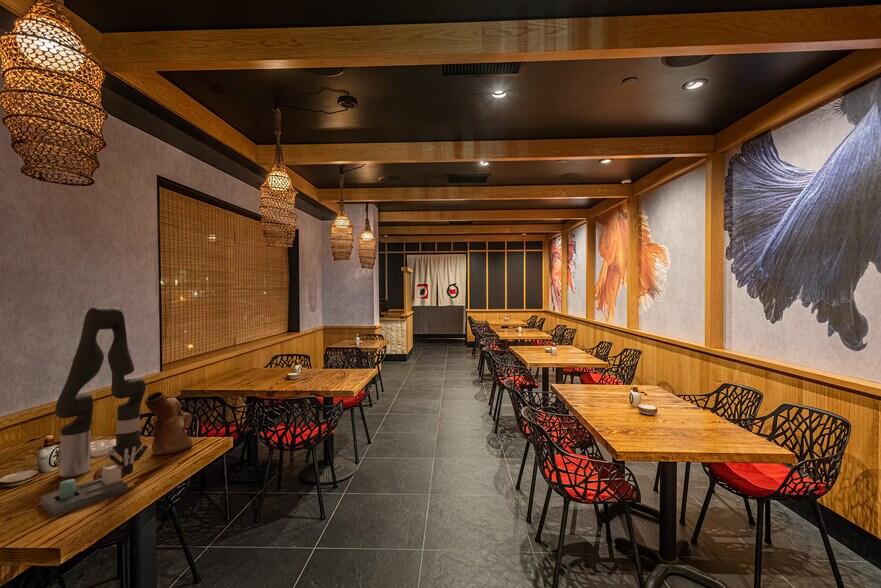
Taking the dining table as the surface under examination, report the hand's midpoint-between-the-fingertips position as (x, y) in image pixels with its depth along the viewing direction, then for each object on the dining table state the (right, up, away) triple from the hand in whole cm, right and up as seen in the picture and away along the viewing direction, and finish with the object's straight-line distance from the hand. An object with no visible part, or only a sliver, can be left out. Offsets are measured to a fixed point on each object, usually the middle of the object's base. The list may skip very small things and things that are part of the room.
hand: (127, 473), depth 150 cm
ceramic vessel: (-8, -6, +33) cm, 35 cm away
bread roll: (-13, -5, +7) cm, 15 cm away
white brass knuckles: (-43, -7, +37) cm, 57 cm away
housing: (-7, -4, -11) cm, 13 cm away
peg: (-9, -4, -15) cm, 18 cm away
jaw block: (-3, -1, -4) cm, 5 cm away
